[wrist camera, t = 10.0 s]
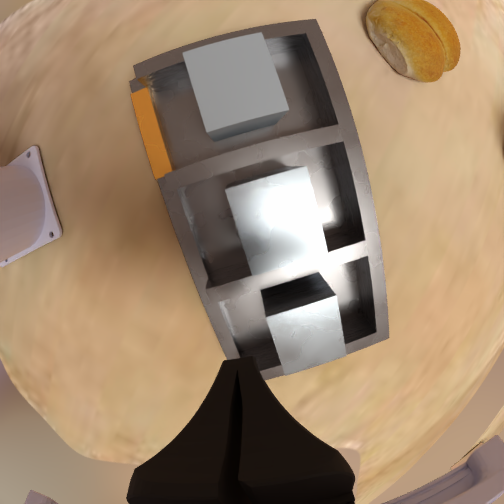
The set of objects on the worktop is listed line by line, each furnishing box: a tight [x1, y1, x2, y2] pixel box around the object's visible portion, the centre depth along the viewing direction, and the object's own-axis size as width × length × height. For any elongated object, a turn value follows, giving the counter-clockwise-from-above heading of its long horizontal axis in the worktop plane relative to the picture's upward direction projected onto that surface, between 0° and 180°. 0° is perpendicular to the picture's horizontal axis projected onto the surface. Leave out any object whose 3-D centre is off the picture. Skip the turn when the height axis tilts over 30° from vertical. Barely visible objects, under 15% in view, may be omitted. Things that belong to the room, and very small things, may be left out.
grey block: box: [182, 32, 289, 142], centre depth 14 cm, size 4×4×5 cm
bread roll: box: [366, 0, 460, 82], centre depth 14 cm, size 8×9×4 cm
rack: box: [129, 19, 389, 380], centre depth 17 cm, size 12×22×6 cm, turn 17°
